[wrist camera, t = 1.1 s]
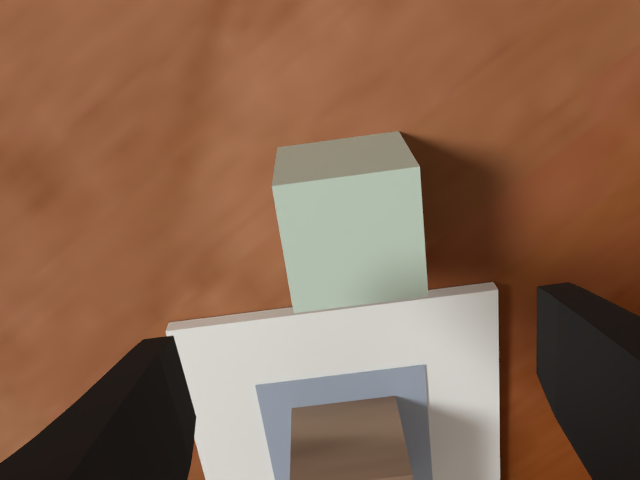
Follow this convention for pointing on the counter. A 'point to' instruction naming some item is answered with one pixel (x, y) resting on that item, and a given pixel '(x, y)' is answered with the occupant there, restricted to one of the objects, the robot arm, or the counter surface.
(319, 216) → the green block
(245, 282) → the counter surface
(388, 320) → the white square board
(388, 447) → the walnut block
